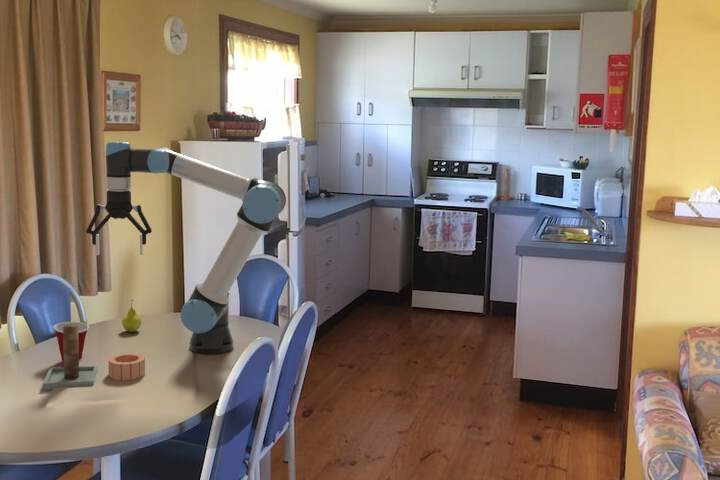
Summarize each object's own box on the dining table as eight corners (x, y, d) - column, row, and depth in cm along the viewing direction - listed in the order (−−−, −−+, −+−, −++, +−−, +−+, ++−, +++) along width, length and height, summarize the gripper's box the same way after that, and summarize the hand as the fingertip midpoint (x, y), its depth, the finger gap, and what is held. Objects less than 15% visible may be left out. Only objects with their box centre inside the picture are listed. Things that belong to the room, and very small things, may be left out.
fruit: (137, 334, 269) (137, 303, 268) (119, 333, 269) (119, 302, 268) (143, 329, 276) (143, 298, 274) (125, 328, 276) (125, 297, 274)
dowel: (79, 374, 223) (79, 323, 220) (78, 379, 219) (77, 327, 216) (65, 375, 222) (64, 324, 219) (63, 379, 218) (62, 328, 215)
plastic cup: (78, 368, 232) (77, 331, 230) (47, 364, 234) (46, 328, 232) (96, 357, 242) (95, 322, 240) (66, 354, 244) (65, 319, 242)
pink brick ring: (145, 370, 232) (145, 352, 231) (144, 382, 222) (144, 363, 221) (110, 372, 229) (110, 353, 228) (107, 384, 219) (107, 365, 218)
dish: (98, 372, 229) (98, 365, 228) (93, 388, 215) (93, 380, 215) (50, 374, 225) (50, 367, 225) (42, 390, 212) (42, 383, 212)
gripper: (158, 189, 242) (159, 252, 246) (79, 188, 236) (80, 252, 240) (158, 191, 235) (159, 256, 239) (76, 190, 229) (77, 256, 232)
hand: (119, 254), depth 239 cm, fingers open, 13 cm apart
